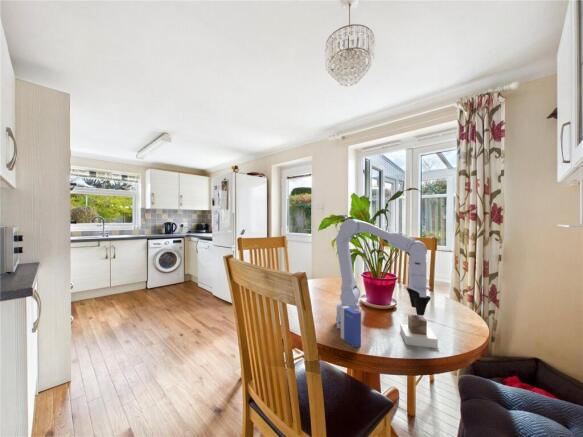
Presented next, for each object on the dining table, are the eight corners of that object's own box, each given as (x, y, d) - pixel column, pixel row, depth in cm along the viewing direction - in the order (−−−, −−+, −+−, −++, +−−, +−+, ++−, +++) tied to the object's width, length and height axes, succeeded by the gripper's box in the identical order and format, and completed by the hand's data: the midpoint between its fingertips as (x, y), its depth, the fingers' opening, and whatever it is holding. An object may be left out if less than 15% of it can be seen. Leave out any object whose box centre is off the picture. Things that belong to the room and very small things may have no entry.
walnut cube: (411, 333, 88) (411, 319, 88) (408, 327, 93) (408, 314, 93) (426, 335, 87) (426, 320, 87) (422, 328, 92) (422, 315, 92)
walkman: (361, 345, 85) (361, 311, 85) (354, 347, 84) (354, 312, 84) (346, 336, 92) (346, 304, 92) (340, 337, 91) (340, 305, 91)
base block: (406, 344, 86) (406, 336, 86) (400, 331, 96) (400, 324, 96) (437, 348, 84) (437, 339, 84) (428, 334, 94) (428, 326, 94)
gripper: (436, 279, 82) (436, 319, 82) (423, 270, 96) (423, 305, 96) (413, 278, 84) (413, 317, 84) (404, 269, 98) (404, 303, 98)
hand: (417, 310), depth 90 cm, fingers open, 7 cm apart
